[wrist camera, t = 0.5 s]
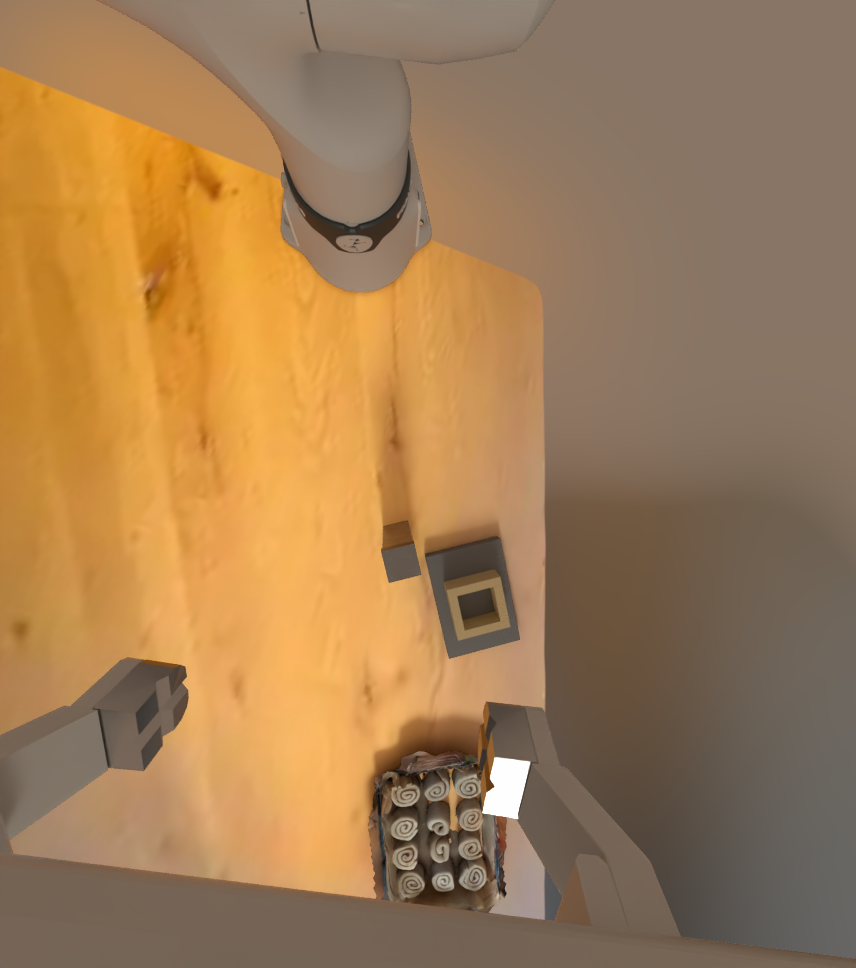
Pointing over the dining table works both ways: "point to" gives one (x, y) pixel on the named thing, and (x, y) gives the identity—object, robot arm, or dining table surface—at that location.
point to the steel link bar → (399, 552)
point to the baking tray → (436, 836)
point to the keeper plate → (473, 596)
